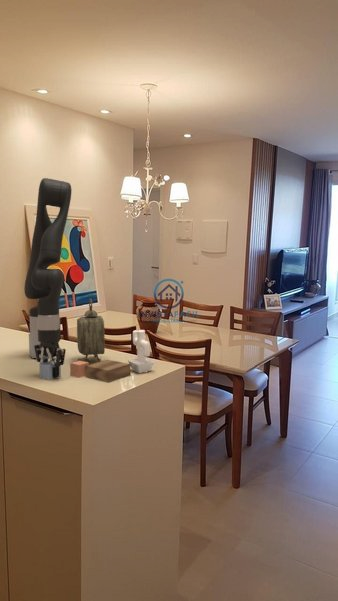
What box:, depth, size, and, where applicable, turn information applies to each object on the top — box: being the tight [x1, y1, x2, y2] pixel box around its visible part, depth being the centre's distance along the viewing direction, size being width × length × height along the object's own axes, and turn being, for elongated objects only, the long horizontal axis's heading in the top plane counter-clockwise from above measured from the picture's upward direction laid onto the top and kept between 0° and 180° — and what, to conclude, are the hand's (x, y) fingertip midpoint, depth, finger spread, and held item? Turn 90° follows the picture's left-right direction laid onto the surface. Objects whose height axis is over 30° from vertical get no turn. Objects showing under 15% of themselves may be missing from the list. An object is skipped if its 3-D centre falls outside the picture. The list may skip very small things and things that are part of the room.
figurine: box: [127, 329, 156, 374], centre depth 165 cm, size 7×9×15 cm
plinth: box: [85, 359, 132, 383], centre depth 159 cm, size 11×11×4 cm
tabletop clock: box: [76, 298, 106, 362], centre depth 179 cm, size 14×9×25 cm, turn 16°
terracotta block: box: [69, 360, 90, 378], centre depth 160 cm, size 4×4×4 cm
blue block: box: [38, 360, 62, 381], centre depth 157 cm, size 5×5×5 cm
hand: (50, 375), depth 158 cm, fingers closed on blue block, 5 cm apart
